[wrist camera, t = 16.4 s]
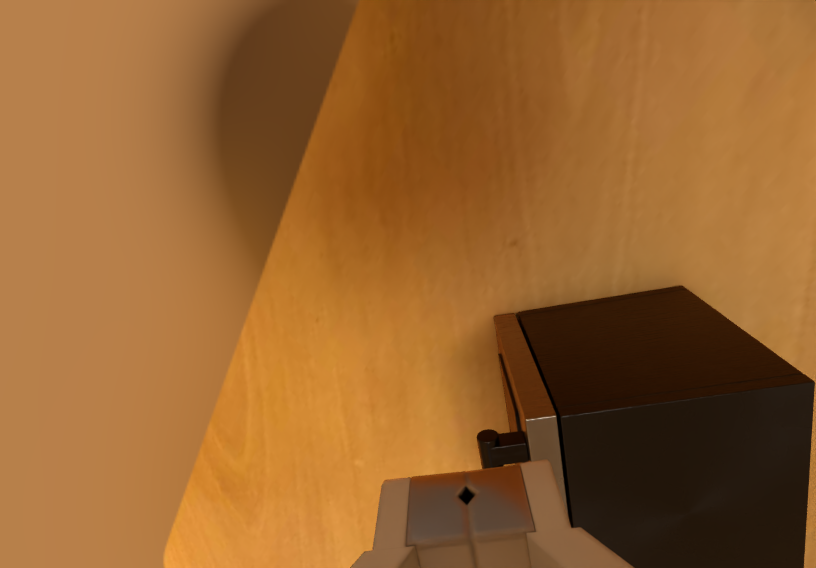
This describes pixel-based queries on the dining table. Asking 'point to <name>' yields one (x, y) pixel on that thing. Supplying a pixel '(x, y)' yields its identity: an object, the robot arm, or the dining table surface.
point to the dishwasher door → (522, 410)
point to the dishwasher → (676, 431)
